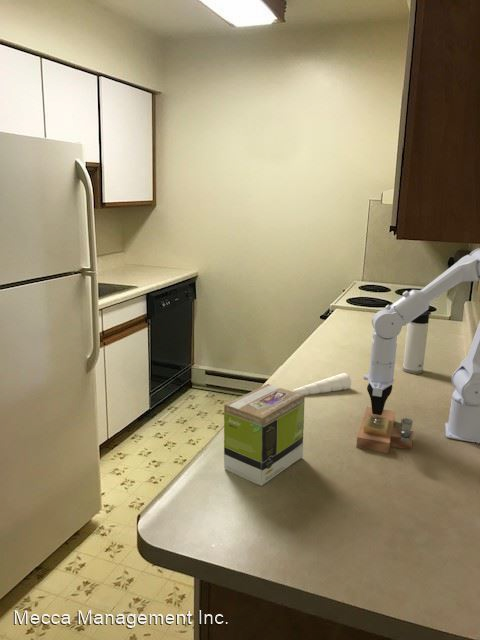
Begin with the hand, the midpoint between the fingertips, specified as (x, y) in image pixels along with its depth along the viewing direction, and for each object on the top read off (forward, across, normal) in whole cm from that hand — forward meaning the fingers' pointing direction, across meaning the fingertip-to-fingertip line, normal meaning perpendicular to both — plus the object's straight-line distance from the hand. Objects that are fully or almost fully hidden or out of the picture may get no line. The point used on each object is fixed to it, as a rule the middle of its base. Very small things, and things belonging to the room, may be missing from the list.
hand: (377, 413), depth 122 cm
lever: (-1, +10, +7) cm, 13 cm away
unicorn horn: (+4, -15, -18) cm, 24 cm away
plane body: (+3, +4, +3) cm, 6 cm away
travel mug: (+4, -47, +7) cm, 48 cm away
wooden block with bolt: (+1, +7, 0) cm, 7 cm away
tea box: (+4, +28, -20) cm, 34 cm away
